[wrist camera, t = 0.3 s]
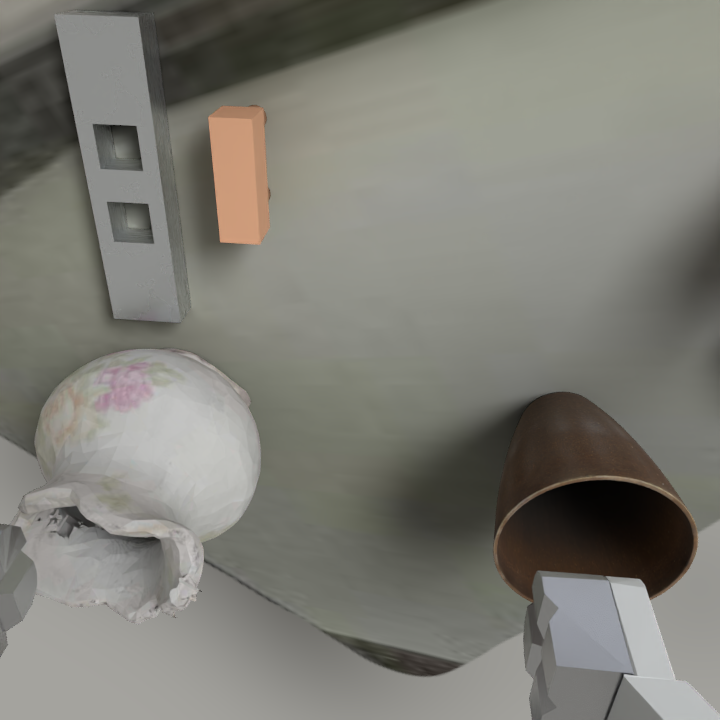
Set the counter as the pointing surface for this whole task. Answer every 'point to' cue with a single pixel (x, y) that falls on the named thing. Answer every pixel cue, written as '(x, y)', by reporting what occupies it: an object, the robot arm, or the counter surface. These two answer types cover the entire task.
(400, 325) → the counter surface
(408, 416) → the counter surface
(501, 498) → the plant pot
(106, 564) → the ceramic pitcher
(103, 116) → the rail
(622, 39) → the counter surface
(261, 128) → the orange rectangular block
